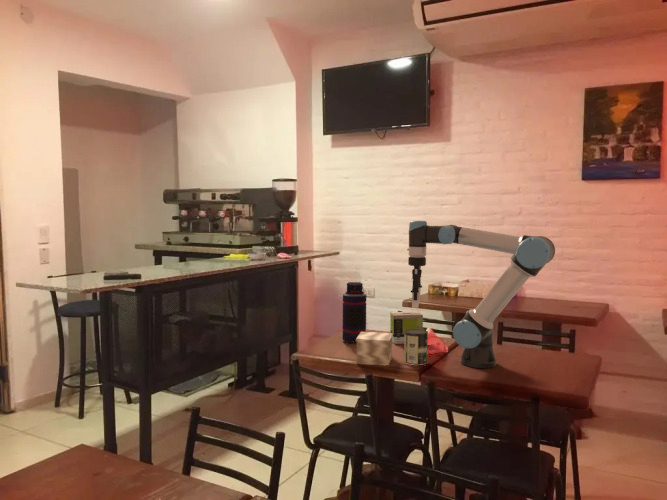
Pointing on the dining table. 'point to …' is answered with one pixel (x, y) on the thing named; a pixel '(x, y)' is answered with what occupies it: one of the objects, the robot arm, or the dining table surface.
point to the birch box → (374, 348)
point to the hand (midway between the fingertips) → (416, 305)
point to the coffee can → (415, 346)
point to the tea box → (404, 324)
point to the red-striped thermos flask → (354, 311)
